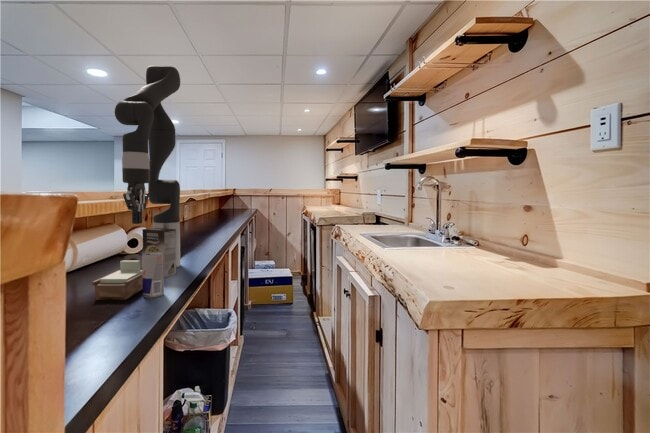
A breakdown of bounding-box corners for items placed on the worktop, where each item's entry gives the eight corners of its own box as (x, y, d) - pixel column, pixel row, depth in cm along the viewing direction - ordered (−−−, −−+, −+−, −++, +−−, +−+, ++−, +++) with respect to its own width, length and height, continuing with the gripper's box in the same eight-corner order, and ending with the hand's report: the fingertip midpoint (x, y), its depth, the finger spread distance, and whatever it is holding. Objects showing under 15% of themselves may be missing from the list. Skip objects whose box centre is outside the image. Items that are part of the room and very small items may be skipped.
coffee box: (142, 275, 124) (141, 229, 123) (156, 271, 131) (155, 227, 129) (164, 278, 122) (163, 230, 121) (177, 273, 128) (176, 228, 127)
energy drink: (144, 293, 103) (143, 252, 103) (164, 291, 105) (163, 251, 105) (141, 298, 98) (140, 255, 98) (163, 297, 100) (162, 254, 100)
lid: (120, 274, 110) (119, 260, 109) (144, 273, 110) (143, 260, 110) (100, 283, 99) (99, 268, 98) (127, 283, 99) (126, 268, 99)
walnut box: (118, 286, 111) (117, 270, 110) (149, 286, 111) (149, 270, 111) (92, 300, 97) (91, 282, 96) (128, 299, 98) (127, 281, 97)
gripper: (139, 166, 106) (140, 225, 107) (157, 169, 119) (158, 221, 120) (112, 166, 105) (114, 225, 106) (133, 168, 118) (134, 221, 120)
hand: (137, 223), depth 113 cm, fingers closed
